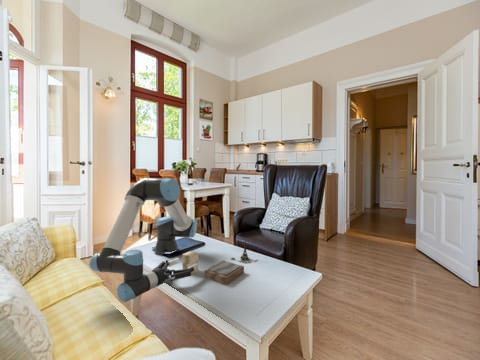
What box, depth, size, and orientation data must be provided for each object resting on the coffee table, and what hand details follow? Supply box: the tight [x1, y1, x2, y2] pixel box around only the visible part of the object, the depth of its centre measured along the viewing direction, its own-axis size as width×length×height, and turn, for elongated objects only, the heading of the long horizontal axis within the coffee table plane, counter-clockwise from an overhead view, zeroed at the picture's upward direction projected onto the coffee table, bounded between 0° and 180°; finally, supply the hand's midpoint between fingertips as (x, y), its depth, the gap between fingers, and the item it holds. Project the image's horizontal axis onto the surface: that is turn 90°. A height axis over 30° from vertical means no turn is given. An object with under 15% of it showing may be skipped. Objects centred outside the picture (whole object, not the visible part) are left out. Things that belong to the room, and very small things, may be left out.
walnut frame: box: [204, 260, 245, 286], centre depth 124 cm, size 14×16×4 cm
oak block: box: [182, 250, 199, 276], centre depth 128 cm, size 6×6×10 cm
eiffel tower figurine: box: [230, 240, 258, 265], centre depth 146 cm, size 15×10×13 cm
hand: (187, 263), depth 125 cm, fingers open, 13 cm apart
